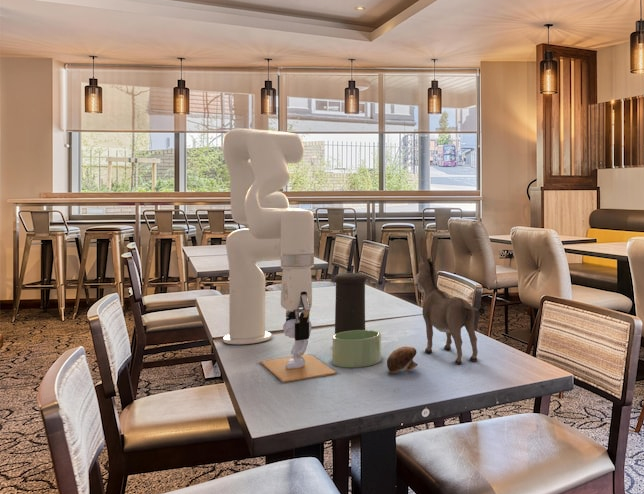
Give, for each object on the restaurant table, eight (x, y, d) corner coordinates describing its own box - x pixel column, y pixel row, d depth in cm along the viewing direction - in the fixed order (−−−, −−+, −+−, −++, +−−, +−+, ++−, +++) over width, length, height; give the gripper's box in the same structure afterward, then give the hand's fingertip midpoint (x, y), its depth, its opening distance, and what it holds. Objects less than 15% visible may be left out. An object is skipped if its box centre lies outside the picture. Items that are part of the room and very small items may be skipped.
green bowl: (326, 359, 155) (326, 333, 156) (369, 353, 162) (369, 327, 162) (342, 370, 146) (342, 342, 146) (388, 362, 152) (388, 336, 152)
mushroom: (430, 355, 147) (414, 334, 146) (416, 376, 139) (398, 355, 139) (407, 367, 150) (391, 347, 149) (392, 388, 143) (375, 367, 142)
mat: (260, 362, 153) (260, 361, 153) (309, 355, 159) (309, 354, 159) (283, 382, 136) (283, 380, 136) (336, 373, 143) (336, 372, 143)
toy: (429, 340, 176) (429, 234, 176) (499, 367, 148) (499, 241, 149) (403, 344, 171) (403, 235, 171) (471, 372, 143) (471, 242, 144)
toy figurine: (284, 363, 150) (284, 313, 151) (311, 361, 152) (312, 312, 152) (281, 370, 144) (281, 318, 144) (310, 369, 145) (310, 317, 146)
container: (370, 343, 173) (370, 271, 173) (360, 351, 164) (360, 275, 164) (340, 342, 173) (340, 271, 174) (328, 350, 165) (328, 275, 165)
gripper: (271, 259, 153) (271, 332, 153) (291, 265, 139) (291, 346, 138) (302, 257, 157) (302, 328, 157) (325, 263, 143) (325, 341, 143)
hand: (297, 336), depth 148 cm, fingers closed on toy figurine, 6 cm apart
